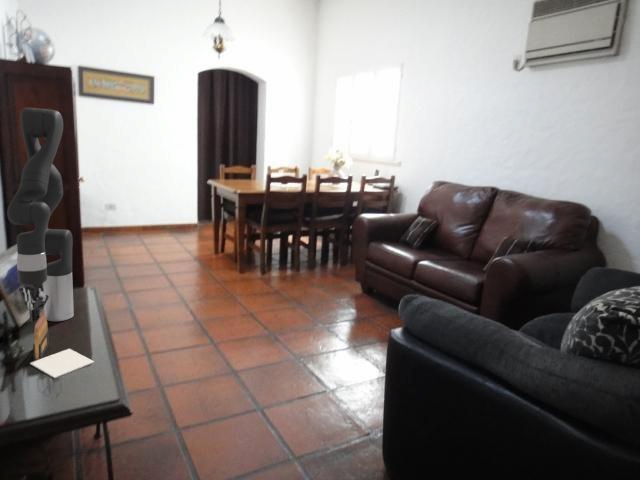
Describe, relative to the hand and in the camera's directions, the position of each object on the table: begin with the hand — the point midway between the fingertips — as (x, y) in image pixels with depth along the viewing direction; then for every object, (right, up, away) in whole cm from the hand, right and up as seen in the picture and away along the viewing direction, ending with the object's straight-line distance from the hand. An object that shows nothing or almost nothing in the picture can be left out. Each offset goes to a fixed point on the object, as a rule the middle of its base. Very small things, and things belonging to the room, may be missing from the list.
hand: (34, 319), depth 138 cm
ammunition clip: (+1, -11, +1) cm, 11 cm away
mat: (+11, -12, -4) cm, 17 cm away
